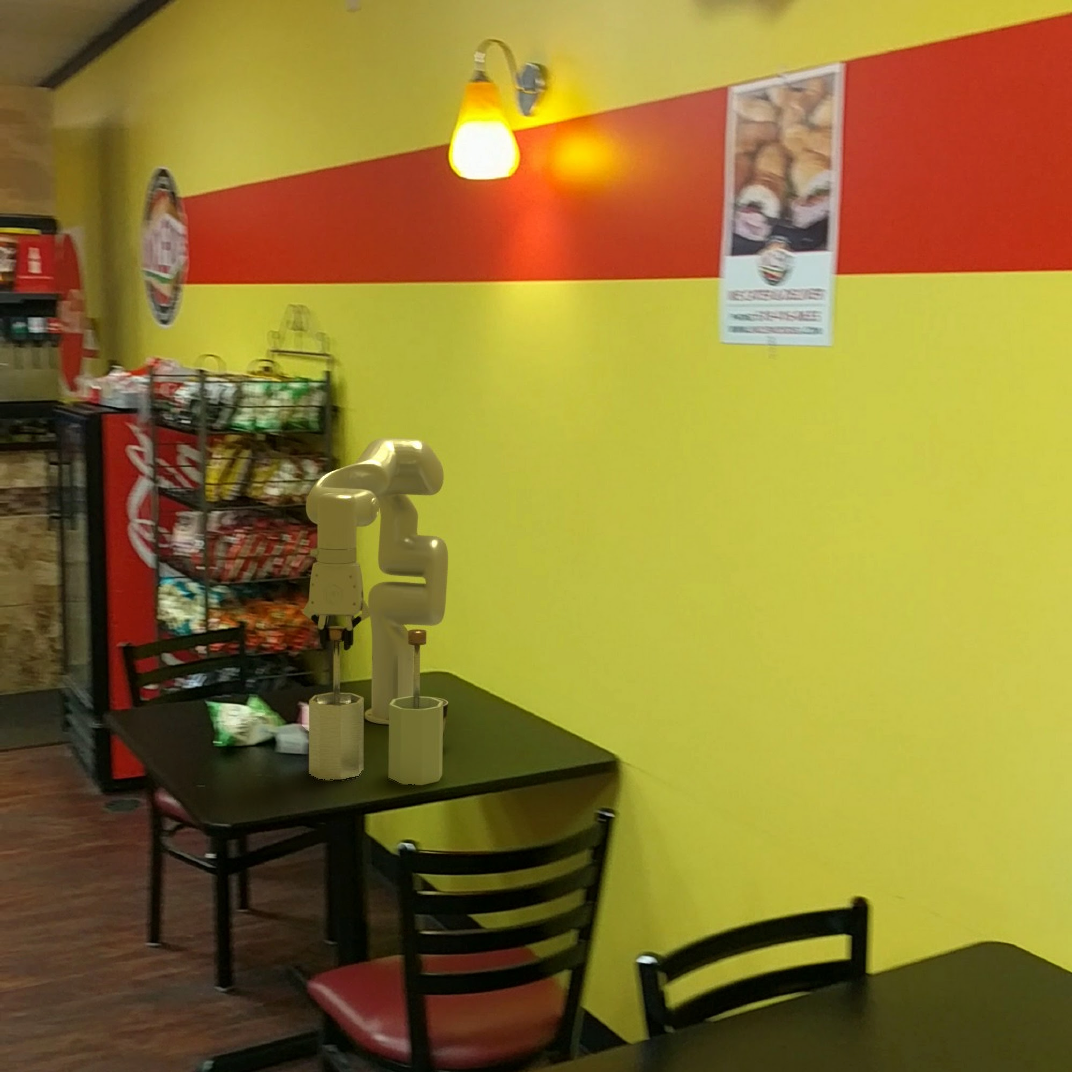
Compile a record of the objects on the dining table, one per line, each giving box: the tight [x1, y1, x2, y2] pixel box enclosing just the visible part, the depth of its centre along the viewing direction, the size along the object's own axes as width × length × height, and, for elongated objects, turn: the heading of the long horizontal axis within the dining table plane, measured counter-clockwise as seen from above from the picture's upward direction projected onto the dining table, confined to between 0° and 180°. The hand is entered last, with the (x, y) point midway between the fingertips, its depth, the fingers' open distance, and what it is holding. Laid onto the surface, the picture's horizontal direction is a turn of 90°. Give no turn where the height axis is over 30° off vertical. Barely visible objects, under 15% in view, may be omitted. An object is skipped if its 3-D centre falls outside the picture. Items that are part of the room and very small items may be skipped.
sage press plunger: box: [406, 628, 427, 709], centre depth 258 cm, size 8×8×17 cm
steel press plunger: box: [328, 625, 346, 705], centre depth 260 cm, size 8×8×17 cm
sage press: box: [388, 696, 444, 786], centre depth 260 cm, size 10×10×15 cm
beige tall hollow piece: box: [308, 691, 365, 781], centre depth 262 cm, size 10×10×15 cm
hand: (336, 647), depth 259 cm, fingers closed on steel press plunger, 3 cm apart
